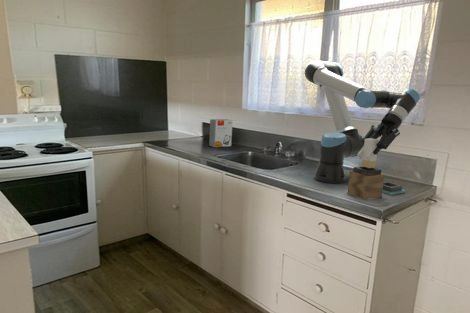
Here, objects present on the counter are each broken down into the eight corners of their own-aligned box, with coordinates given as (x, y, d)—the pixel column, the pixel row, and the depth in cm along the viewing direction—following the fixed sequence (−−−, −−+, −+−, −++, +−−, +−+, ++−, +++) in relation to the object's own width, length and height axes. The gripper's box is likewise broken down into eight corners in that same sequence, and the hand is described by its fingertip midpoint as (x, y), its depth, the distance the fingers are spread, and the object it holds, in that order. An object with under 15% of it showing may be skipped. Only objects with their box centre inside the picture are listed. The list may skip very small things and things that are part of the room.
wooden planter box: (347, 192, 152) (350, 166, 149) (362, 190, 157) (365, 165, 154) (365, 199, 143) (369, 172, 141) (381, 196, 148) (385, 170, 146)
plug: (361, 165, 148) (364, 138, 145) (367, 165, 150) (371, 138, 147) (369, 168, 144) (372, 140, 142) (375, 167, 146) (379, 139, 144)
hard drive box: (214, 147, 249) (214, 120, 245) (208, 145, 255) (209, 119, 251) (231, 146, 258) (232, 119, 254) (226, 144, 264) (227, 118, 260)
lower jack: (371, 188, 159) (372, 182, 159) (385, 186, 164) (386, 180, 164) (390, 195, 151) (391, 188, 150) (404, 192, 156) (405, 186, 155)
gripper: (415, 126, 143) (384, 168, 139) (380, 122, 158) (351, 159, 153) (409, 114, 140) (377, 156, 135) (374, 110, 154) (344, 148, 150)
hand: (363, 157), depth 144 cm, fingers closed on plug, 4 cm apart
